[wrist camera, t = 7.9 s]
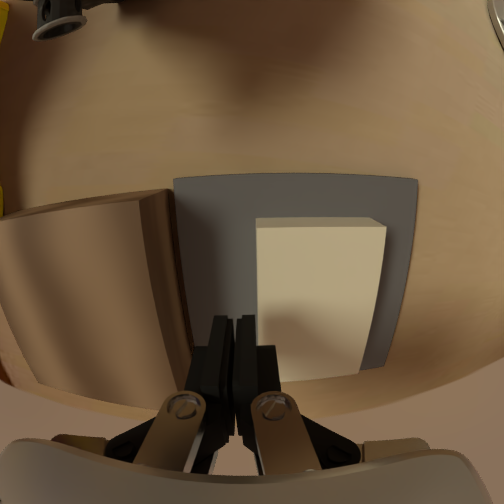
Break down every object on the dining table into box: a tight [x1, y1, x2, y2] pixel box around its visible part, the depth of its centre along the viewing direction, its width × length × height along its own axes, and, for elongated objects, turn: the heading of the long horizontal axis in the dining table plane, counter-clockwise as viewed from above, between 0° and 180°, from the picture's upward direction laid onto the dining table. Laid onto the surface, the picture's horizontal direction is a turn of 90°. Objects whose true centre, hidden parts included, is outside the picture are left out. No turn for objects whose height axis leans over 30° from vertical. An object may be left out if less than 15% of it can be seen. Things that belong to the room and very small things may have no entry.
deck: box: [0, 189, 192, 410], centre depth 14 cm, size 12×12×4 cm
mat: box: [173, 173, 418, 371], centre depth 15 cm, size 13×13×1 cm
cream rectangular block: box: [256, 217, 387, 382], centre depth 14 cm, size 6×9×2 cm, turn 1°
